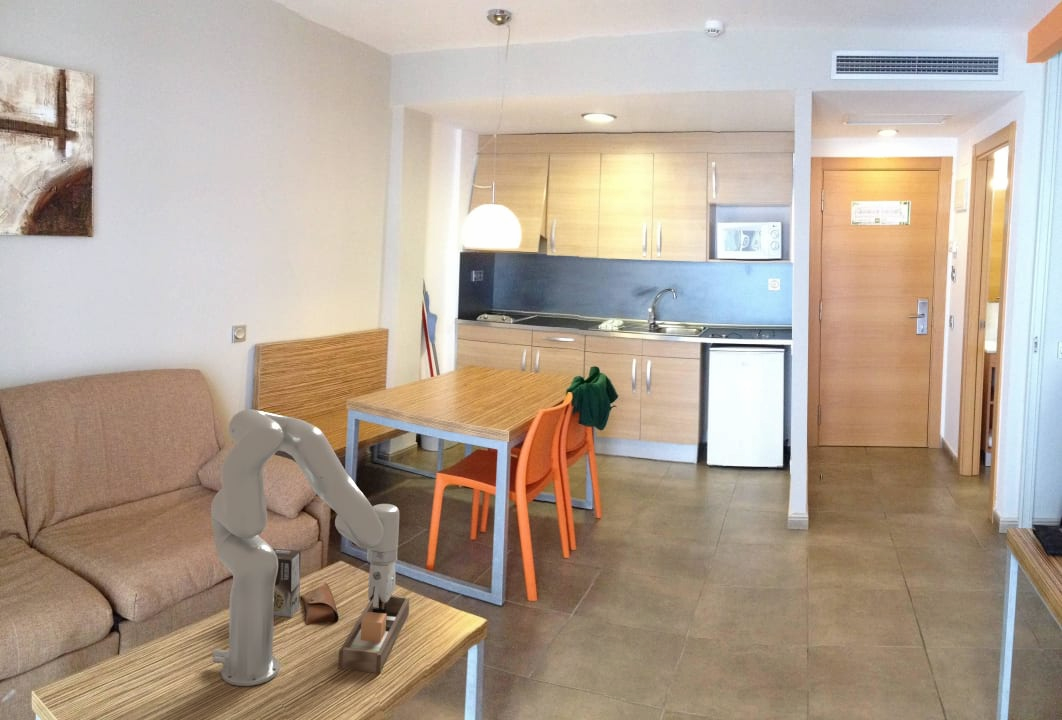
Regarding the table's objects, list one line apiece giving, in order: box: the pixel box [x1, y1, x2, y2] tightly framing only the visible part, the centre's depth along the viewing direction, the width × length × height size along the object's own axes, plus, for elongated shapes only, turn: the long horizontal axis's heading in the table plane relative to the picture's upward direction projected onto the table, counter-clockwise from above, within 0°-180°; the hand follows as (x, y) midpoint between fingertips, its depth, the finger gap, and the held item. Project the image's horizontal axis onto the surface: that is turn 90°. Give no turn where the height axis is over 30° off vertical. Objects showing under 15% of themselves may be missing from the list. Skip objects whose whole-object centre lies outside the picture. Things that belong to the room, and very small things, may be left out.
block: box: [361, 612, 386, 642], centre depth 197 cm, size 5×5×5 cm
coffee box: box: [272, 547, 301, 618], centre depth 211 cm, size 9×6×16 cm
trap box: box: [338, 594, 410, 674], centre depth 201 cm, size 10×30×5 cm, turn 176°
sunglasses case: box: [300, 582, 339, 626], centre depth 215 cm, size 18×7×7 cm
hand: (379, 621), depth 204 cm, fingers closed
